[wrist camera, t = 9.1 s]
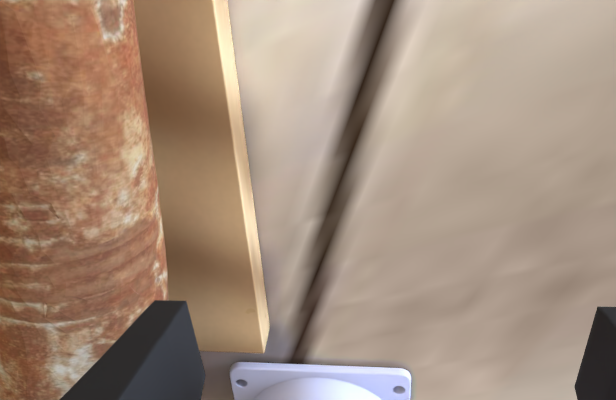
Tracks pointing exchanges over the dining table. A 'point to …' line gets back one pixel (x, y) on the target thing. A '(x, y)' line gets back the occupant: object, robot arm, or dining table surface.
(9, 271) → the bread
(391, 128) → the dining table surface
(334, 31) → the dining table surface
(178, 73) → the board
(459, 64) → the dining table surface
